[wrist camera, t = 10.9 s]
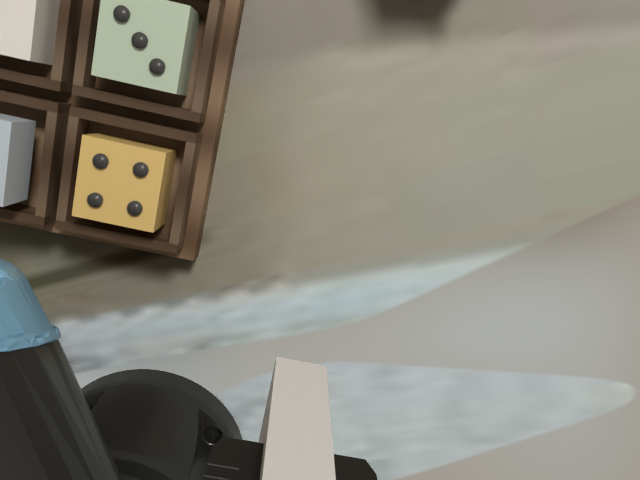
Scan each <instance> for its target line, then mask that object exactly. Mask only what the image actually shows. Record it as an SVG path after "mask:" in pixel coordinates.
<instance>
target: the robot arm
mask: <svg viewBox="0 0 640 480" xmlns="http://www.w3.org/2000/svg"><path fill="white" fill-rule="evenodd" d="M60 336H61V335H60V331H59V329H58V328H57V327H56V326H54V325H51V323H50V321H49V320H48V318H47V316H46V314H45V312H44V310H43V309H42V307H41V305H40V303H39V301H38V299H37V297H36V295H35V293H34V292H33V290H32V288H31V286H30V284H29V282H28V280H27V278H26V277H25V275H24V274H23V273H22V272H21V271H20V270H19V269H18V268H17V267H16V266H15V265H13V264H12V263H10V262H8V261H6V260H3V259H0V480H377V476H376V473H375V472H374V471H373V469H372V468H371V467H370V465H369V464H368V463H367V461H366V460H365V459H359V458H353V457H347V456H341V455H336V454H334V452H333V440H332V428H331V416H330V404H329V392H328V380H327V368H326V366H324V365H318V364H313V363H307V362H302V361H296V360H291V359H285V358H280V357H276V361H275V366H274V371H273V376H272V381H271V385H270V390H269V395H268V400H267V405H266V409H265V414H264V419H263V424H262V429H261V433H260V438H259V443H257V442H252V441H246V440H242V437H241V434H240V431H239V429H238V426H237V424H236V422H235V420H234V419H233V417H232V415H231V414H230V412H229V411H228V410H227V408H226V407H225V406H224V405H223V404H222V403H221V402H220V401H219V400H218V399H217V398H216V397H215V396H214V395H213V394H212V393H210V392H209V391H208V390H206V389H205V388H203V387H202V386H200V385H199V384H197V383H195V382H193V381H191V380H189V379H187V378H184V377H182V376H179V375H176V374H173V373H168V372H164V371H159V370H149V369H137V370H126V371H121V372H116V373H113V374H109V375H107V376H104V377H101V378H99V379H97V380H95V381H93V382H91V383H89V384H88V385H86V386H85V387H83V388H82V389H81V388H80V386H79V384H78V381H77V379H76V377H75V375H74V373H73V371H72V368H71V366H70V364H69V362H68V360H67V357H66V355H65V353H64V351H63V349H62V347H61V344H60V342H59V340H58V339H59V338H61V337H60Z"/></svg>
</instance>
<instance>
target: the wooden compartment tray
mask: <svg viewBox="0 0 640 480" xmlns="http://www.w3.org/2000/svg"><path fill="white" fill-rule="evenodd" d="M100 1H101V0H60V5H59V13H58V22H57V31H56V39H55V48H54V56H53V65H48V64H43V63H37V62H32V61H27V60H23V59H19V58H14V57H10V56H5V55H1V54H0V113H1V114H6V115H10V116H15V117H20V118H24V119H29V120H33V121H36V127H35V136H34V145H33V154H32V163H31V172H30V181H29V189H28V198H27V200H24V201H21V202H17V203H14V204H11V205H8V206H5V207H0V222H5V223H10V224H15V225H20V226H25V227H30V228H34V229H39V230H44V231H49V232H54V233H59V234H64V235H69V236H74V237H78V238H83V239H88V240H93V241H98V242H103V243H108V244H113V245H118V246H122V247H127V248H132V249H137V250H142V251H147V252H152V253H157V254H162V255H166V256H171V257H176V258H181V259H186V260H191V261H194V259H195V258H196V257H197V255H198V254H199V249H200V243H201V238H202V232H203V227H204V221H205V216H206V210H207V205H208V199H209V194H210V188H211V183H212V177H213V172H214V166H215V161H216V155H217V150H218V144H219V139H220V133H221V128H222V122H223V117H224V111H225V106H226V100H227V95H228V89H229V84H230V78H231V73H232V67H233V62H234V56H235V51H236V45H237V40H238V34H239V29H240V23H241V18H242V12H243V7H244V1H245V0H168V1H172V2H176V3H181V4H185V5H189V6H191V7H192V8H193V9H195V10H196V11H197V12H198V13H199V14H200V18H199V24H198V30H197V36H196V42H195V48H194V54H193V60H192V66H191V72H190V78H189V84H188V90H187V96H185V95H178V94H173V93H169V92H164V91H160V90H155V89H151V88H147V87H142V86H138V85H133V84H129V83H125V82H120V81H116V80H111V79H107V78H102V77H98V76H94V75H91V70H92V62H93V55H94V47H95V39H96V32H97V24H98V16H99V9H100ZM94 133H103V134H107V135H112V136H117V137H121V138H126V139H130V140H135V141H139V142H144V143H148V144H153V145H158V146H162V147H167V148H171V149H176V150H177V154H176V160H175V166H174V172H173V178H172V184H171V190H170V196H169V202H168V208H167V214H166V220H165V224H164V225H162V226H161V227H160V228H159V229H157V230H156V231H155V232H154V233H152V232H147V231H142V230H137V229H133V228H128V227H123V226H118V225H113V224H108V223H104V222H99V221H94V220H89V219H84V218H80V217H75V216H72V209H73V201H74V194H75V186H76V178H77V170H78V163H79V155H80V147H81V140H82V135H84V134H94Z"/></svg>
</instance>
